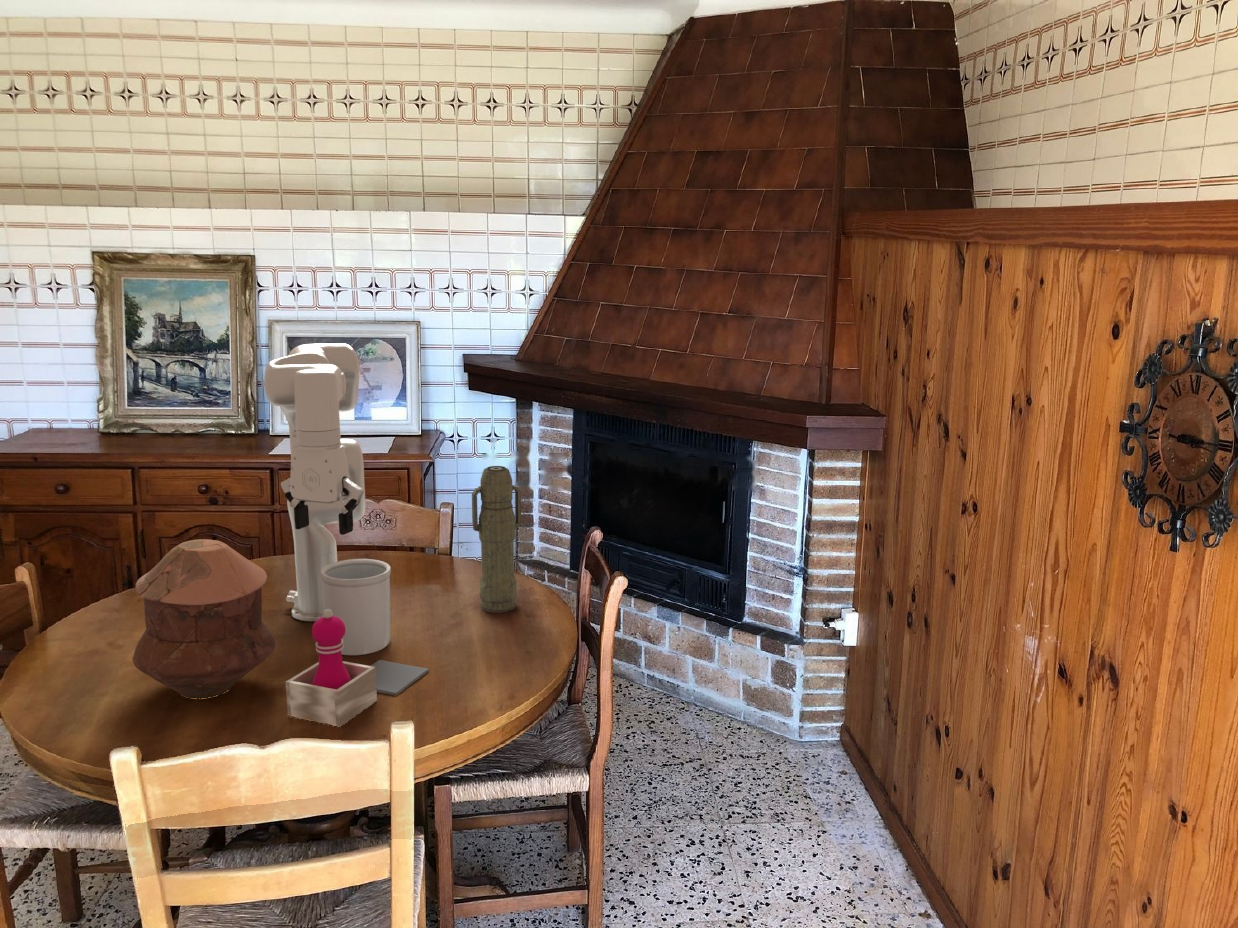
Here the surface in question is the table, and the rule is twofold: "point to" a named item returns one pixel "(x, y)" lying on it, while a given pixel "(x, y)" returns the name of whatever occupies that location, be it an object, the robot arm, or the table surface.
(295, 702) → the crate
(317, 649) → the pepper mill
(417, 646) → the table surface
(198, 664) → the pottery vessel
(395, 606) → the table surface
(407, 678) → the mat
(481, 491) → the thermos
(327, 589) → the utensil holder
